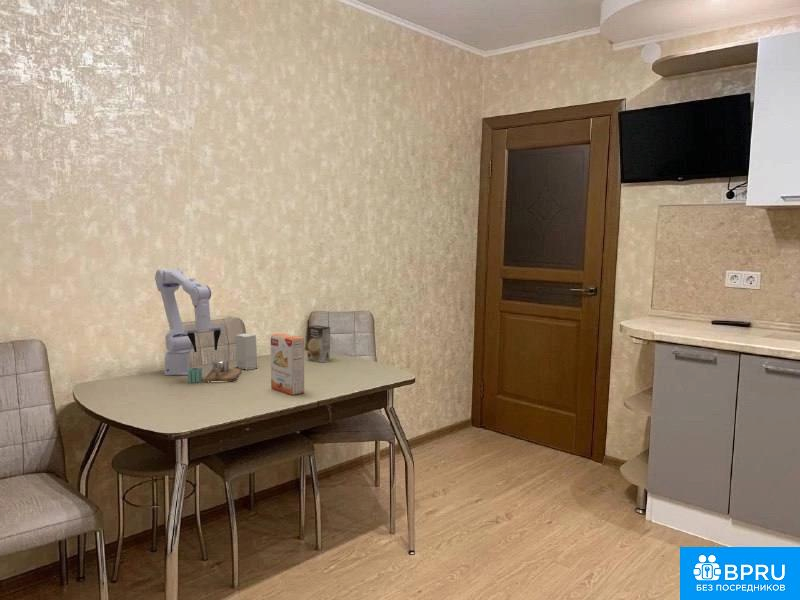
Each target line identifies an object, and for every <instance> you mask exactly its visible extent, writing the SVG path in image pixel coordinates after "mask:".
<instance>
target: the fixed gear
mask: <svg viewBox="0 0 800 600" xmlns="http://www.w3.org/2000/svg"><path fill="white" fill-rule="evenodd" d="M229 365H230V364H229V360H227V359H222V358H219V359H218V360H213V361H212V369H213V371H214V372H215V368H219V372H226V371H229V369H230V366H229Z"/></svg>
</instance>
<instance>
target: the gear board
mask: <svg viewBox="0 0 800 600" xmlns="http://www.w3.org/2000/svg"><path fill="white" fill-rule="evenodd" d="M242 370H243V369H241V368H229V371H226V372H219V368H215V372H214V371H213V368H212V369H211V370H210V371H209V373H208V374H207V375H206V376H205V377H204V378H203V379H204V383H212V382H211V381H232V382H231V383H234V382H233V381H236V380H237V381H238V379H239V378H238V377H240V376H241V374H242V373H243V371H242ZM241 372H242V373H241ZM240 373H241V374H240ZM239 375H240V376H239ZM237 378H238V379H237ZM208 381H209V382H208ZM237 381H236V382H237Z"/></svg>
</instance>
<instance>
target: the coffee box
mask: <svg viewBox="0 0 800 600" xmlns="http://www.w3.org/2000/svg"><path fill="white" fill-rule="evenodd" d="M306 339H307V344H306V345H307V346H306V347H307V349H306V350H307V353H306V355H307V356H306V357H307V358H306V360H307V361H308V362H315V363H321V364H323V363H326V362H330V360H331V358H330V355H331V353H330V352H331V327H330V326H323V325H316V324H313V325H309V326H307V338H306Z"/></svg>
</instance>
